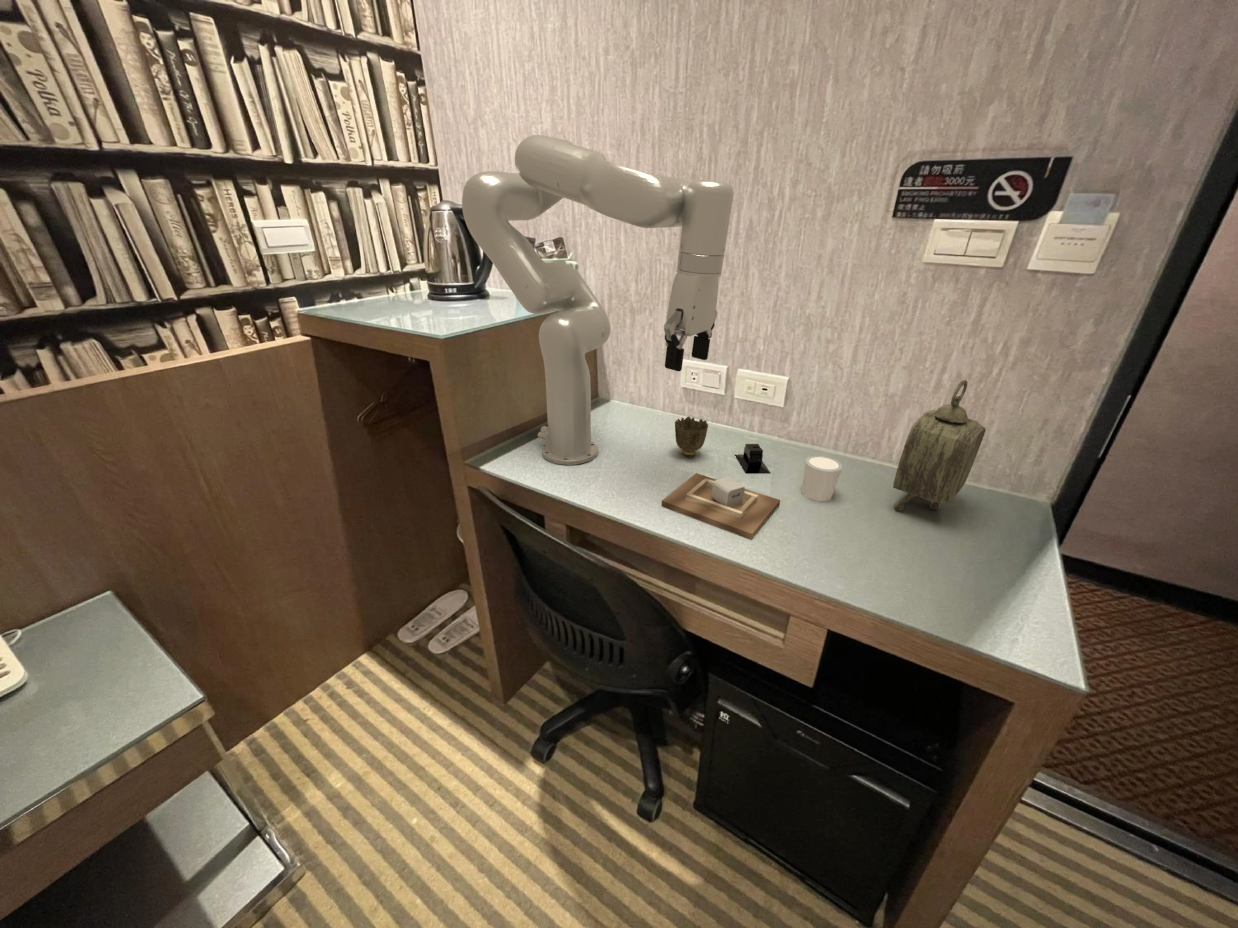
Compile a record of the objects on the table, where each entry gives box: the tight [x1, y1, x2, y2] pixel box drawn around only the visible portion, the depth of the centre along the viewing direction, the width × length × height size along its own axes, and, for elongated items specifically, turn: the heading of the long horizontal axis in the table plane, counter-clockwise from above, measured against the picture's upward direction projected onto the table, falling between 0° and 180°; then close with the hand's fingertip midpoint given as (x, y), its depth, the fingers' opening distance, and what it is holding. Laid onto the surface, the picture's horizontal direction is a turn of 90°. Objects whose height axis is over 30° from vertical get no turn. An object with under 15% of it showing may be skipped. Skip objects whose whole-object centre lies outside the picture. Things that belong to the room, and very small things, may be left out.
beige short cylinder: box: [801, 455, 843, 502], centre depth 100 cm, size 7×7×7 cm
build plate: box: [734, 443, 772, 475], centre depth 112 cm, size 12×7×5 cm, turn 4°
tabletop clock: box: [892, 379, 986, 511], centre depth 93 cm, size 14×9×25 cm, turn 135°
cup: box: [674, 416, 709, 458], centre depth 114 cm, size 8×7×8 cm
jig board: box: [661, 472, 781, 540], centre depth 96 cm, size 18×14×2 cm
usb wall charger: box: [708, 476, 746, 508], centre depth 96 cm, size 4×7×4 cm, turn 29°
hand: (686, 363), depth 93 cm, fingers open, 9 cm apart
